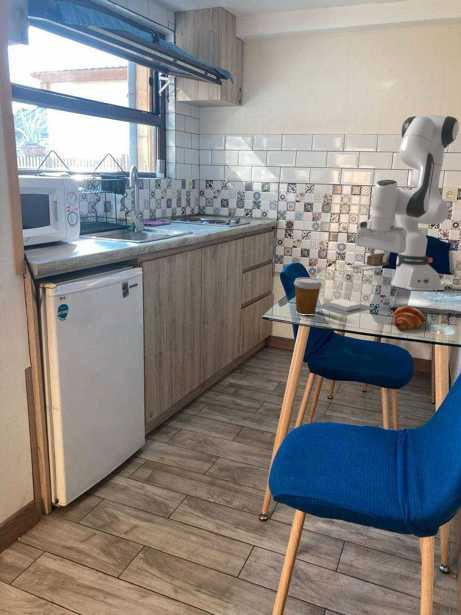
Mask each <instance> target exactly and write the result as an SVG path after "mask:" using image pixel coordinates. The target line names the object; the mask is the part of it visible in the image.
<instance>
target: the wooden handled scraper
mask: <svg viewBox="0 0 461 615" xmlns="http://www.w3.org/2000/svg"><path fill="white" fill-rule="evenodd" d="M374 254H375V253H374ZM390 254H391V253H390ZM390 254H389V255H388V257H387V259H386V262H380V260H381V257H383V256H384V255H385V254H384V252H382V253H376V254H375V255H370V254H369V255H367V257H366V258H367V259H366V263H361V264H352V265H350V266H349V268H351V269H355V270H359V271H364V272H368V271H372V270H377V269H380V267H382V266H388V265H389V263H390V262H389V261H390Z"/></svg>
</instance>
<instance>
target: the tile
mask: <svg viewBox="0 0 461 615" xmlns="http://www.w3.org/2000/svg"><path fill="white" fill-rule="evenodd" d="M328 303H329V306H330V307H334V308H337V309H341V310H344V311H349V310H354V309H358V308H360V304H361V303H360V302H356V301H351V300H348V299H344V298H340V299H336V300H335V299H334V300H331V301H328Z"/></svg>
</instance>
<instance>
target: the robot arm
mask: <svg viewBox="0 0 461 615" xmlns="http://www.w3.org/2000/svg"><path fill="white" fill-rule="evenodd" d="M459 130H460V129H459V120H458V119H457V118H456V117H454V116H448V115H447V116H444V115H443V116H442V115H434V114H433V115H432V114H431V115H421V116H415V115H414V116H410V117H408V118H406V119H405V120H404V121H403V124H402V126H401V137H402V140H401V142H400V145H399V148H398V156H399V158H400V160H401V161H402V162H403V163H404V164H405V165H406V166H408V167H410V168H413V169H412V173H411V174H412V176H411V183H412V185H413V186H414V187H415V188H413V189H405V188H402V189H401V188H398V181H396V180H394V179H382V180H379V181H377V182H376V183H375V186H374V190H373V193H372V200H371V208H372V210H371V214H370V217H369V218H370V219H367V220H362V221H359V222H358V225H357V227H358V228H357V230H356V233H355V241H354V242H355V245H356V246H357V247H362V248H367V249H368V253H369V255H375V251H376V250H378V251H383V253H384V254H385V255H384V256H383V257H381V260H380V262H386V259H387V257H388V255H389V254H391V253H395V254H397V256H396V264H395V265H396V267H395V268H396V269H395V272H394V276H393V278H392V280H391V283H390V284H391V285H392V286H393V287H396V288H397V287H398V288H401V289H405V290H409V291H431V292H432V291H433V290H435V291H436V292H438V291H437V290H444V291H445V286H444V285H443V284H441V277H440V274H439V273H438V272H437V271H436V270H435V269H434V268H433V267H432V266H431V265H430V264H429V263H433V258H432V257H429V256H428V255H426V253H427V252H426V251H427V246H428V237H427V235H426V234H425V233H424V232H422V230H420V228H419V224H423V225H431V226H432V225H441V224H443V223H444V222H445V221H446V220H447V218H448V216H449V213H450V212H449V210H450V209H449V206H448V203H447V202H446V200H444V199H443V197H442V195H441V192H440V187H439V184H440V177H441V172H442V167H443V163H444V156H445V155H444V154H445V149H446V148H448V146H449V145H451V144H452V143H453V142H454V141H455V140H456V138H457V137H458V134H459ZM395 223H396V224H397V226H395ZM389 256H390V255H389ZM435 291H434V292H435Z"/></svg>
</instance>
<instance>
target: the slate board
mask: <svg viewBox="0 0 461 615" xmlns="http://www.w3.org/2000/svg"><path fill="white" fill-rule="evenodd" d="M316 308H318V309H322V310H326V311H329V312H331V313H336V314H338V315H342V316H345V317H346V316H351V315H354V314H359V313H362V312H366V311H370V310H374V309H376V307H373V306H369V305H367V304H363V303H360V308H358V309H354V310H349V311H344V310H341V309H337V308H334V307H330V306H329V302H328V303H323V304H317V305H316Z"/></svg>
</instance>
